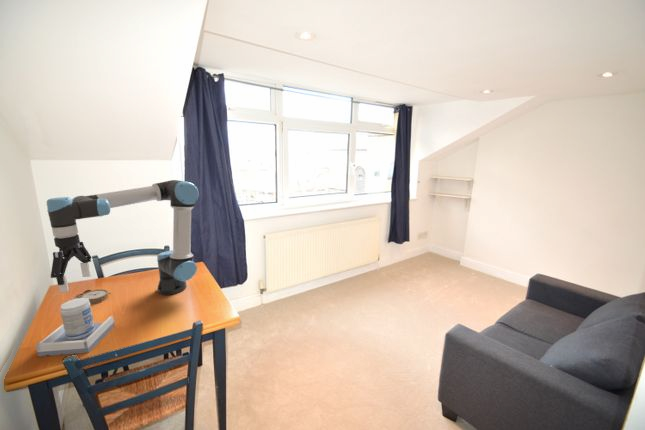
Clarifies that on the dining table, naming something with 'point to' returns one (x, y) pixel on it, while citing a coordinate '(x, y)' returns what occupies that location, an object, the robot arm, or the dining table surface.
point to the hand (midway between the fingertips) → (76, 283)
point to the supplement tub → (77, 318)
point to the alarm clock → (94, 295)
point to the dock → (62, 345)
